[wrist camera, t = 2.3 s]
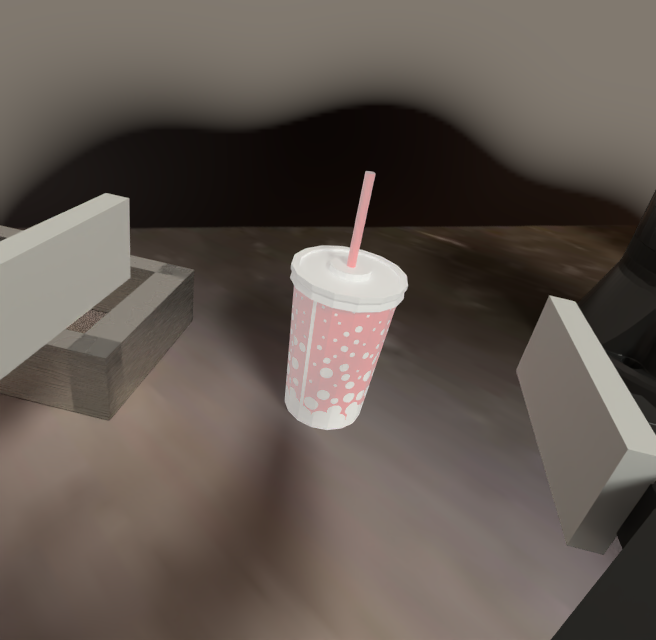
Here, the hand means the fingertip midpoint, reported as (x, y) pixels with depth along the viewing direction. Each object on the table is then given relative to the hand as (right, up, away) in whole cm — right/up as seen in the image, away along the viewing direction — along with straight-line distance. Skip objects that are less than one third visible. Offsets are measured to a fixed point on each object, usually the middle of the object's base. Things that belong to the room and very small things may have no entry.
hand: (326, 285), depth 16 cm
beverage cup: (0, -6, +15) cm, 16 cm away
